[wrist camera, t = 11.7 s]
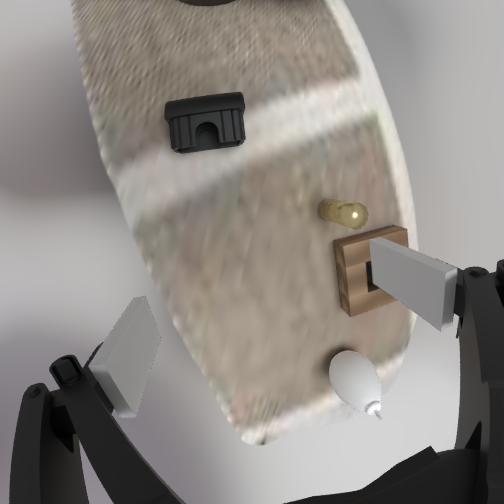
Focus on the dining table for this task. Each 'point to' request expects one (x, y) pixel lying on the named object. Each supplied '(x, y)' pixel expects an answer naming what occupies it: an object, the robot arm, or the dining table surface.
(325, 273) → the dining table surface
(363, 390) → the white air blower
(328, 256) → the dining table surface
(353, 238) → the socket board
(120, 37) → the dining table surface
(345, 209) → the round bit
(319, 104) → the dining table surface
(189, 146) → the end cap
